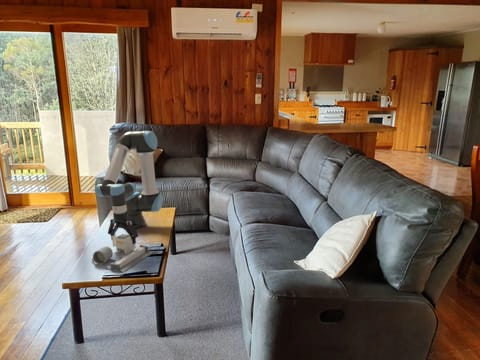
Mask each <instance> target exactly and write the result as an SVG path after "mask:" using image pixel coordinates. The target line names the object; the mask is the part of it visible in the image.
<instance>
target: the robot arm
mask: <svg viewBox="0 0 480 360" xmlns="http://www.w3.org/2000/svg"><path fill="white" fill-rule="evenodd" d="M157 148H158V137H157V136H156V134H155V132H154V131H152V130H135V131H134V130H133V131H130V130H129V131H127V132H125V133H123V134H122V135H121V136H120V137H119V138H118V140H117V141H116V142H115V145H114V152H113V155H112V157H111V158H110V159H111V160H110V163H109V165H108V167H107V171H106V172H105V176H104V177H103V180H102V183H98V184H97V185H96V186H95V187H94V192H95V195H96V196H97V197H100V198H101V197H102V198H111V199H110V201H111V208H112V212H113V215H112V216H113V217H112V219H110V221H109V222H110V224H109V226H108V231H107V235H110V238H111V242H112V247H114V248H115V247H116V243H115V238H116V237H117V234H116V233H117V231H118V229H123V230H124V231H125V232H126V233H127V235H129V236H130V237H131V239H130V240H131V249H132V250H133V251H134V250H136V249H137V246H136V245H137V239H136V238H138V237H139V234H138V232H137V228H138V229H141V228H143V227H145V226H146V225H147V222H146V219H145V217H144V215H143V213H144V212H145V213H147V212H149V213H157V212H159V211H160V210H161V209H162V206H163V203H164V202H163V201H164V198H163V195H162V194H160V190H159V189H157V182H156V174H155V164H154V154H155V151H156V149H157ZM131 150H136V154H138V157H139V164H140V165H139V166H140V174H141V185H142V191H141V192H140V191H137V187H136V185H135V184H134V183H132V182H126V183H117V182H118V180H119V177H120V173H121V172H122V169H123V167H124V163H125V160H126V158H127V155H129V153H130V152H131Z"/></svg>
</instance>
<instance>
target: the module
mask: <svg viewBox="0 0 480 360" xmlns="http://www.w3.org/2000/svg"><path fill="white" fill-rule="evenodd" d="M130 239H131V237H130V236H129V234H125V233H122V234H121V233H120V235H117V236H116V238H115V243H116V246H115V250H116V253H117V254H119V253H120V252H122V251H124V255H128V254H129V253H131V252H132V251H134V249H133V250H132V249H131V240H130Z"/></svg>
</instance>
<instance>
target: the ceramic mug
mask: <svg viewBox="0 0 480 360" xmlns="http://www.w3.org/2000/svg"><path fill="white" fill-rule="evenodd" d="M113 254H114V253H113V249H112V248H110V247H109V246H103V247H100V249H97V250H96V251H94V253H93V254H92V258H91V260H92V262H94V263H96V264H97V265H103V264H105V263H106V262H107V261H108V260H110V259H111V258H112V257H113Z"/></svg>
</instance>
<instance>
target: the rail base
mask: <svg viewBox="0 0 480 360" xmlns="http://www.w3.org/2000/svg"><path fill="white" fill-rule="evenodd" d="M153 252H154V251H151V250H149V245H143V244H140V245H139V248H135V249H133V251H131V252H130V253H128V254H125V255H124V256H122V258H120V259H118V260H115V262H110V263H109V265H107V267H105V269H106V270H109V269H110V270H109V271H114V270H116V271H115V272H118V271H121V272H120V273H123V272H124V273H125V271H126V270H127V271H128V269H129V270H130V269H131V268H133V267H135V266H136V265H138V264H139V263H141V262H143V260H145V259H146V258H148V257H149V256H152V255H153V254H154V253H153ZM127 271H126V272H127Z"/></svg>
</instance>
